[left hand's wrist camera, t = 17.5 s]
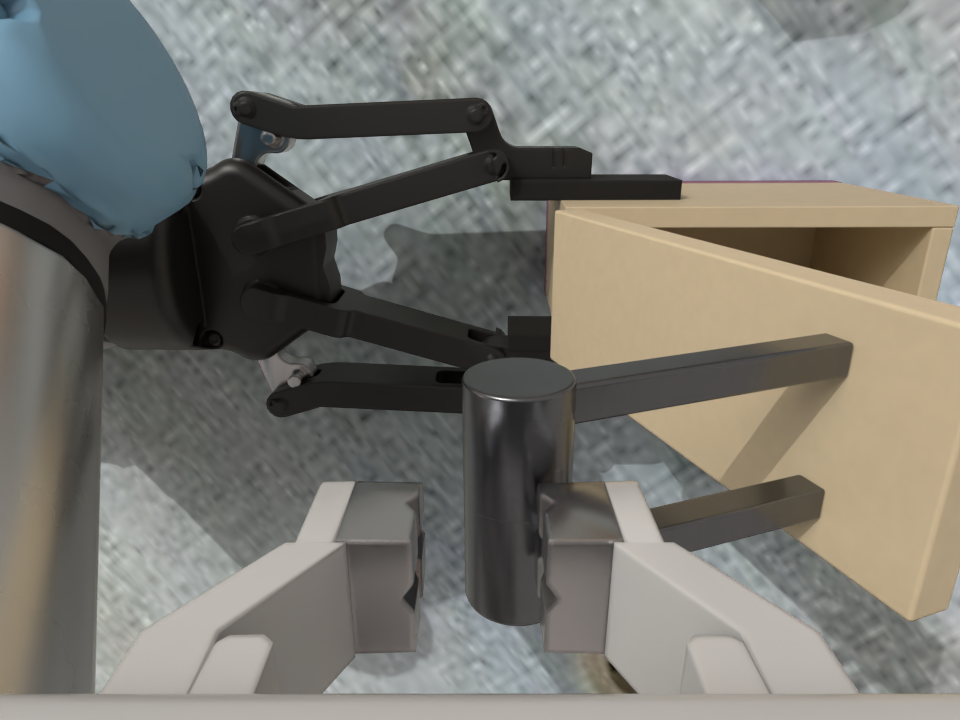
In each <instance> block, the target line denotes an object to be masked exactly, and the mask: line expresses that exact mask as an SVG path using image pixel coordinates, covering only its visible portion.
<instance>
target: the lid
mask: <svg viewBox="0 0 960 720" xmlns="http://www.w3.org/2000/svg"><path fill="white" fill-rule="evenodd" d="M550 357H551V359H552V360H553V361H555V362H556V363H553V362H550V361H546V360H540V359H534V358H501V359H494V360H489V361H485V362H482V363H479V364H476V365H474V366H472V367H471V368H469V369H468V370H467V371H466V372H465V373H464V375H463V378H462V414H463V471H464V528H465V585H466V596H467V598H468V601H469V602H470V604H471V606H472V607H473V608H474V609H475V610H476V611H477V612H478V613H479V614H480V615H482V616H483V617H485V618H487V619H489V620H491V621H494V622H496V623H500V624H504V625H511V626H526V625H532V624H537V623H540V598H539V597H538V596H537V591H536V581H535V533H536V531H537V530H538V522H537V514H536V492H537V484H539V483H571V482H572V472H573V451H574V430H575V424H577V423H582V422H588V421H594V420H600V419H605V418H611V417H617V416H622V415H628V416H629V417H631V418H632V419H634V420H635V421H636V422H638V423H639V424H640V425H642V426H643V427H644V428H646V429H647V430H648V431H650V432H651V433H653V434H654V435H655V436H657V437H658V438H659V439H661V440H662V441H663V442H665V443H666V444H668V445H669V446H670V447H672V448H673V449H674V450H676V451H677V452H678V453H680V454H681V455H682V456H684V457H685V458H687V459H688V460H689V461H691V462H692V463H693V464H695V465H696V466H697V467H699V468H700V469H701V470H703V471H704V472H706V473H707V474H708V475H710V476H711V477H712V478H714V479H715V480H716V481H718V482H719V483H721V484H722V485H723V486H725V487H726V488H727V489H729V491H725V492H721V493H716V494H712V495H708V496H703V497H699V498H695V499H690V500H686V501H682V502H677V503H673V504H668V505H664V506H660V507H655V508H651V509H650V511H651V513H652V515H653V518H654V520H655V522H656V524H657V527H658V529H659V531H660V533H661V536H662V538H663V540H664V542H674V543H676V544H678V545H679V546H681V547H682V548H684V549H686V550H687V551H689V552H692V551H696V550H700V549H704V548H708V547H711V546H715V545H719V544H723V543H727V542H731V541H735V540H738V539H742V538H746V537H750V536H754V535H758V534H761V533H765V532H769V531H773V530H777V529H781V528H782V529H783V530H784V531H786V532H787V533H789V534H790V535H791V536H793V537H794V538H795V539H797V540H798V541H799V542H801V543H802V544H803V545H805V546H806V547H808V548H809V549H810V550H812V551H813V552H814V553H816V554H817V555H818V556H820V557H821V558H822V559H824V560H825V561H827V562H828V563H829V564H831V565H832V566H833V567H835V568H836V569H837V570H839V571H840V572H842V573H843V574H844V575H846V576H847V577H848V578H850V579H851V580H852V581H854V582H855V583H856V584H858V585H859V586H861V587H862V588H863V589H865V590H866V591H867V592H869V593H870V594H871V595H873V596H874V597H876V598H877V599H878V600H880V601H881V602H882V603H884V604H885V605H886V606H888V607H889V608H890V609H892V610H893V611H895V612H896V613H897V614H899V615H900V616H901V617H903V618H904V619H905V620H908V621H914V620H917V619H920V618H923V617H926V616H929V615H932V614H935V613H938V612H940V611H943V610H946V609H947V608H948V606H949V603H950V599H951V596H952V592H953V589H954V586H955V582H956V579H957V576H958V572H959V569H960V307H958V306H954V305H950V304H947V303H943V302H939V301H935V300H931V299H927V298H923V297H919V296H915V295H912V294H908V293H904V292H900V291H896V290H892V289H888V288H884V287H880V286H877V285H873V284H869V283H865V282H861V281H857V280H853V279H849V278H846V277H842V276H838V275H834V274H830V273H826V272H822V271H818V270H814V269H811V268H807V267H803V266H799V265H795V264H791V263H787V262H783V261H779V260H776V259H772V258H768V257H764V256H760V255H756V254H752V253H748V252H744V251H741V250H737V249H733V248H729V247H725V246H721V245H717V244H713V243H709V242H706V241H702V240H698V239H694V238H690V237H686V236H682V235H678V234H674V233H671V232H667V231H663V230H659V229H655V228H651V227H647V226H643V225H639V224H636V223H632V222H628V221H624V220H620V219H616V218H612V217H608V216H605V215H601V214H597V213H593V212H589V211H585V210H581V209H570V210H557V211H555V227H554V258H553V289H552V320H551V351H550Z"/></svg>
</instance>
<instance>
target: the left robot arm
mask: <svg viewBox="0 0 960 720" xmlns="http://www.w3.org/2000/svg"><path fill="white" fill-rule="evenodd" d="M423 512H424V499H423V486H422V483H413V482H361V481H358V482H356V481H325V482H323V483H322V484H321V485H320V487H319V489H318V491H317V493H316V496H315V498H314V500H313V503H312V505H311V507H310V509H309V512H308V514H307V516H306V519H305V521H304V523H303V526H302V528H301V530H300V532H299V535H298V537H297V539H296V542H285V543H284V544H282V545H280V546H279V547H277V548H276V549H274V550H272V551H271V552H269V553H267V554H266V555H264V556H263V557H261V558H259V559H258V560H256V561H254V562H253V563H251V564H250V565H248V566H246V567H245V568H243V569H241V570H240V571H238V572H237V573H235V574H233V575H232V576H230V577H229V578H227V579H225V580H224V581H222V582H220V583H219V584H217V585H216V586H214V587H212V588H211V589H209V590H207V591H206V592H204V593H203V594H201V595H199V596H198V597H196V598H194V599H193V600H191V601H190V602H188V603H186V604H185V605H183V606H181V607H180V608H178V609H177V610H175V611H173V612H172V613H170V614H168V615H167V616H165V617H164V618H162V619H160V620H159V621H157V622H156V623H154V624H152V625H151V626H149V627H147V628H146V629H144V630H143V631H141V632H140V633H139V635H138V636H137V638H136V639H135V641H134V642H133V644H132V645H131V647H130V648H129V650H128V651H127V653H126V654H125V656H124V657H123V659H122V660H121V662H120V663H119V665H118V666H117V668H116V669H115V671H114V672H113V674H112V675H111V677H110V678H109V680H108V681H107V683H106V684H105V686H104V687H103V689H102V690H101V692H100V693H99V694H0V720H960V694H860V693H859V691H858V690H857V688H856V687H855V685H854V684H853V682H852V681H851V679H850V677H849V676H848V674H847V673H846V671H845V670H844V668H843V667H842V665H841V664H840V662H839V661H838V659H837V658H836V656H835V655H834V653H833V652H832V650H831V648H830V647H829V645H828V644H827V642H826V641H825V639H824V638H823V636H822V635H821V633H820V632H818V631H816V630H815V629H813V628H812V627H810V626H808V625H807V624H805V623H804V622H802V621H800V620H799V619H797V618H795V617H794V616H792V615H791V614H789V613H787V612H786V611H784V610H783V609H781V608H779V607H778V606H776V605H774V604H773V603H771V602H770V601H768V600H766V599H765V598H763V597H762V596H760V595H758V594H757V593H755V592H753V591H752V590H750V589H749V588H747V587H745V586H744V585H742V584H741V583H739V582H737V581H736V580H734V579H732V578H731V577H729V576H728V575H726V574H724V573H723V572H721V571H720V570H718V569H716V568H715V567H713V566H711V565H710V564H708V563H707V562H705V561H703V560H702V559H700V558H699V557H697V556H695V555H694V554H692V553H691V552H689V551H687V550H686V549H684V548H682V547H681V546H679V545H678V544H676V543H674V542H664V540H663V538H662V536H661V533H660V531H659V529H658V527H657V524H656V522H655V520H654V518H653V515H652V513H651V511H650V508H649V506H648V504H647V502H646V499H645V497H644V495H643V493H642V490H641V488H640V486H639V484H638V483H637V482H636V481H614V482H571V483H539V484H537V492H536V514H537V522H538V530H537V531H536V533H535V581H536V591H537V596H538V597H539V598H540V625H541V632H542V640H543V648H544V652H565V653H601V654H605V657H606V659H607V660H608V661H609V662H610V663H611V664H612V665H613V666H614V667H615V669H616V670H617V671H618V672H619V673H620V674H621V675H622V676H623V678H624V679H625V680H626V681H627V682H628V683H629V684H630V685H631V686H632V688H633V689H634V690H635V691H636V692H637V693H638V694H322V693H323V692H324V691H325V690H326V689H327V688H328V686H329V685H330V684H331V683H332V682H333V681H334V680H335V679H336V678H337V676H338V675H339V674H340V673H341V672H342V671H343V670H344V669H345V668H346V666H347V665H348V664H349V663H350V662H351V661H352V660H353V659H354V658H355V654H358V653H393V652H416V646H417V638H418V630H419V622H420V598H421V597H422V596H423V588H424V575H425V533H424V532H423V530H422V529H421V528H422V520H423Z"/></svg>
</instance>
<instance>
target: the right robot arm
mask: <svg viewBox="0 0 960 720" xmlns="http://www.w3.org/2000/svg"><path fill="white" fill-rule="evenodd" d="M230 110H231V112H232V115H233V116H234V118H235V119H236V120H237V121H238V127H237V133H236V138H235V144H234V150H233V155H232V158H229V159H226V160H223V161H221V162H219V163H218V164H216V165H215V166H213V167H211V168H209V169H207V150H206V142H205V137H204V132H203V128H202V125H201V123H200V120H199V117H198V113H197V110H196V108H195V105H194V102H193V100H192V98H191V95H190V93H189V91H188V89H187V86H186V84H185V82H184V80H183V78H182V76H181V75H180V73H179V71H178V69H177V67H176V65H175V64H174V62H173V60H172V58H171V57H170V55H169V54H168V52H167V51H166V49H165V47H164V46H163V44H162V43H161V41H160V40H159V38H158V37H157V35H156V34H155V32H154V31H153V29H152V28H151V27H150V25H149V24H148V23H147V21H146V20H145V18H144V17H143V16H142V15H141V14H140V12H139V11H138V10H137V9H136V8H135V6H134V5H133V4H132V3H131V2H130V0H0V694H95V676H96V634H97V592H98V550H99V507H100V465H101V423H102V381H103V349H110V348H112V347H115V346H119V347H121V348H125V349H160V350H207V349H225V350H229V351H233V352H235V353H238V354H240V355H241V356H243V357H245V358H248V359H251V360H258V363H259V365H260V367H261V369H262V371H263V373H264V376H265V378H266V380H267V382H268V384H269V386H270V389H271V391H272V394H271V395H270V396H269V398H268V399H267V408H268V410H269V411H270V413H272V414H273V415H275V416H277V417H287V416H290V415H294V414H297V413H301V412H304V411H307V410H311V409H314V408H318V407H337V408H359V409H380V410H401V411H423V412H444V413H462V378H463V375H464V373H465V372H466V371H467V370H468V369H469V368H471V367H472V366H474V365H476V364H479V363H482V362H485V361H489V360H494V359H501V358H534V359H540V360H546V361H550V362H553V363H556V362H555V361H553V360H552V359H551V357H550V351H551V320H552V317H549V316H508V336H505V334H504V332H503V331H502V330H501V329H499V328H496V332H494V331H490V330H487V329H483V328H480V327H476V326H472V325H469V324H465V323H462V322H458V321H455V320H451V319H447V318H444V317H440V316H437V315H433V314H430V313H426V312H423V311H419V310H415V309H412V308H408V307H405V306H401V305H398V304H394V303H390V302H387V301H383V300H380V299H376V298H373V297H369V296H366V295H364V294H363V293H362V292H361V291H359V290H356V289H353V288H349V287H346V286H342V285H341V279H340V273H339V270H338V267H337V264H336V262H335V259H334V255H335V250H336V244H337V229H339V228H341V227H344V226H346V225H349V224H352V223H356V222H359V221H362V220H366V219H369V218H373V217H376V216H379V215H383V214H386V213H390V212H393V211H396V210H400V209H403V208H407V207H410V206H413V205H417V204H420V203H424V202H427V201H430V200H434V199H437V198H440V197H444V196H447V195H451V194H454V193H457V192H461V191H464V190H468V189H471V188H474V187H478V186H481V185H485V184H488V183H491V182H495V181H498V182H500V181H502V180H510V198H511V200H534V201H562V200H680V198H681V189H682V180H679V179H677V178H674V177H671V176H668V175H591V168H592V153H590V152H588V151H586V150H583V149H581V148H579V147H576V146H513V145H510V144H508V143H507V142H506V141H505V140H504V139H503V138H502V136H501V134H500V132H499V129H498V126H497V123H496V120H495V117H494V114H493V111H492V108H491V107H490V105H489V104H488V103H487V102H486V101H485V100H483V99H480V98H461V99H438V100H416V101H394V102H371V103H349V104H327V105H303V104H300V103H297V102H294V101H291V100H288V99H285V98H282V97H279V96H276V95H273V94H270V93H262V92H253V91H240V92H237V93H236V94H235V95H234V96H233V97H232V100H231V102H230ZM444 133H467V136H468V139H469V142H470V145H471V148H472V150H473V152H470V153H467V154H463V155H460V156H457V157H453V158H450V159H447V160H443V161H440V162H437V163H433V164H430V165H427V166H423V167H420V168H417V169H413V170H410V171H407V172H404V173H400V174H397V175H394V176H390V177H387V178H384V179H380V180H377V181H374V182H370V183H367V184H364V185H360V186H357V187H354V188H350V189H346V190H342V191H339V192H336V193H332V194H329V195H326V196H322V197H319V198H316V199H313V198H312V197H310V196H309V195H307V194H306V193H305V192H303V191H302V190H300V189H299V188H297V187H296V186H295V185H293V184H292V183H290V182H289V181H287V180H286V179H285V178H283V177H282V176H280V175H279V174H277V173H276V172H275V171H273V170H272V169H270V168H269V167H267V166H266V165H265V164H264V161H265V159H266V157H267V156H268V155H269V154H271V153H282V152H286V151H289V150H291V149H292V148H293V146H294V145H295V142H296V139H327V138H351V137H374V136H397V135H421V134H444ZM308 330H310V331H313V332H317V333H321V334H324V335H328V336H332V337H337V338H342V337H351V338H355V339H359V340H363V341H366V342H370V343H373V344H377V345H381V346H384V347H388V348H392V349H395V350H399V351H402V352H406V353H410V354H413V355H417V356H421V357H424V358H428V359H431V360H435V361H439V362H442V363H446V364H450V365H453V366H457V367H460V368H454V367H432V366H410V365H388V364H367V363H345V362H333V363H325V364H320V365H316V364H315V362H314V361H313V359H311V358H308V357H296V356H292V355H290V354H289V353H288V352H287V351H286V350H285V347H286V346H288V345H289V344H290V343H292V342H293V341H294V340H296V339H297V338H298V337H300V336H301V335H302V334H304V333H305V332H306V331H308Z"/></svg>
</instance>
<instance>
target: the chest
mask: <svg viewBox="0 0 960 720" xmlns="http://www.w3.org/2000/svg"><path fill="white" fill-rule="evenodd" d="M570 209H581V210H585V211H589V212H593V213H597V214H601V215H605V216H608V217H612V218H616V219H620V220H624V221H628V222H632V223H636V224H639V225H643V226H647V227H651V228H655V229H659V230H663V231H667V232H671V233H674V234H678V235H682V236H686V237H690V238H694V239H698V240H702V241H706V242H709V243H713V244H717V245H721V246H725V247H729V248H733V249H737V250H741V251H744V252H748V253H752V254H756V255H760V256H764V257H768V258H772V259H776V260H779V261H783V262H787V263H791V264H795V265H799V266H803V267H807V268H811V269H814V270H818V271H822V272H826V273H830V274H834V275H838V276H842V277H846V278H849V279H853V280H857V281H861V282H865V283H869V284H873V285H877V286H880V287H884V288H888V289H892V290H896V291H900V292H904V293H908V294H912V295H915V296H919V297H923V298H927V299H931V300H935V301H936V299H937V294H938V290H939V286H940V282H941V278H942V274H943V269H944V265H945V261H946V257H947V253H948V249H949V244H950V240H951V236H952V232H953V228H952V227H954V225H955V221H956V217H957V213H958V209H959V206H956V205H951V204H946V203H941V202H936V201H931V200H926V199H921V198H916V197H911V196H906V195H901V194H896V193H891V192H886V191H881V190H875V189H870V188H865V187H860V186H855V185H850V184H845V183H842V182H837V181H832V180H831V181H682V189H681V198H680V200H562V201H547V216H546V252H545V288H544V291H545V295H546V296H547V300H548V304H549V308H550V312H551V316H552V289H553V258H554V227H555V211H557V210H570Z"/></svg>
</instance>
